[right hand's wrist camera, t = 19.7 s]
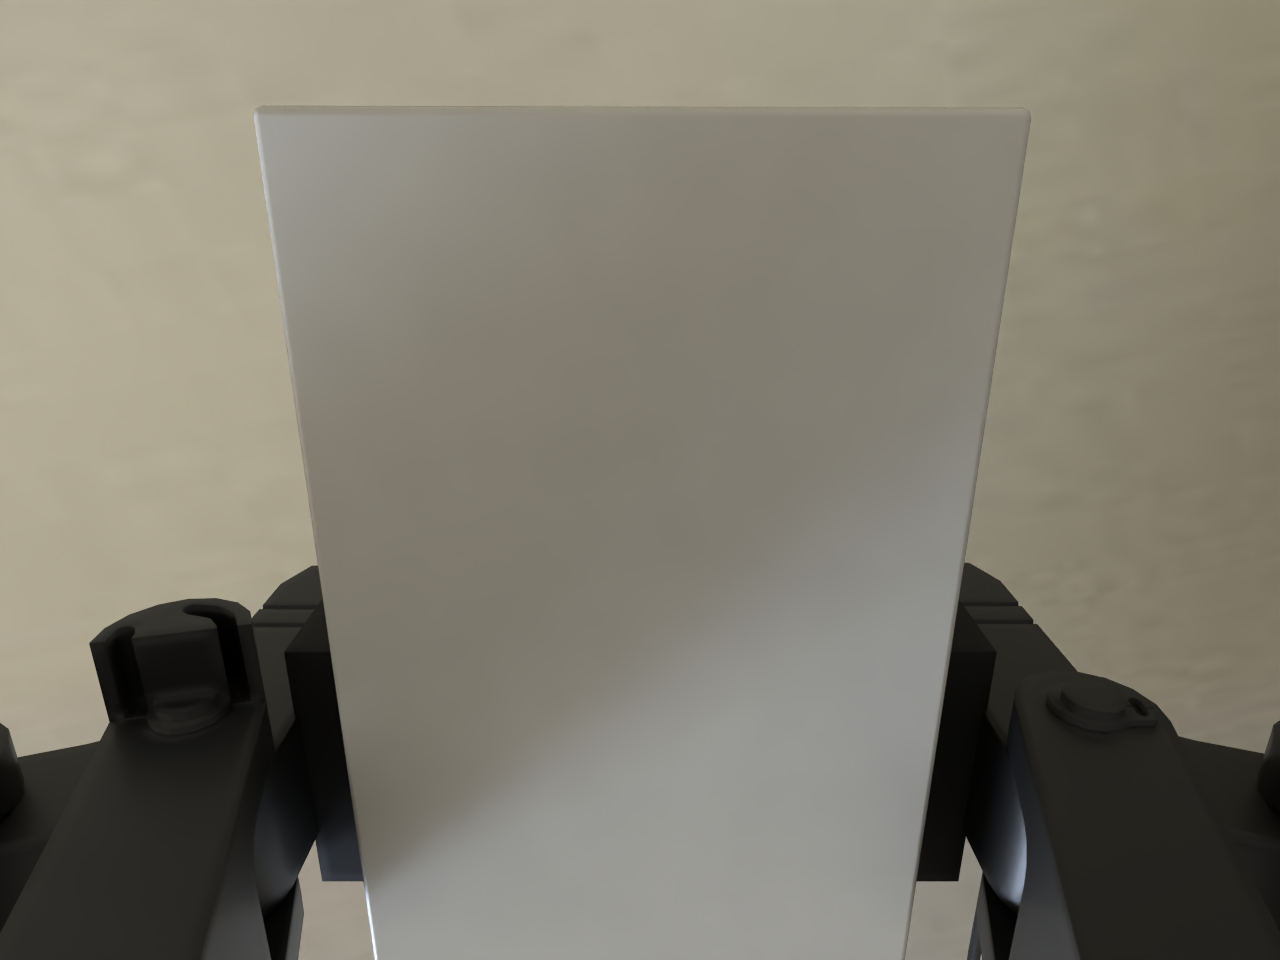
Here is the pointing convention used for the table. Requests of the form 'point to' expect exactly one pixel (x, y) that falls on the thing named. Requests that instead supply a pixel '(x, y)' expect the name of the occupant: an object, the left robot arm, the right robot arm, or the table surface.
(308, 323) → the beam
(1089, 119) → the table surface
